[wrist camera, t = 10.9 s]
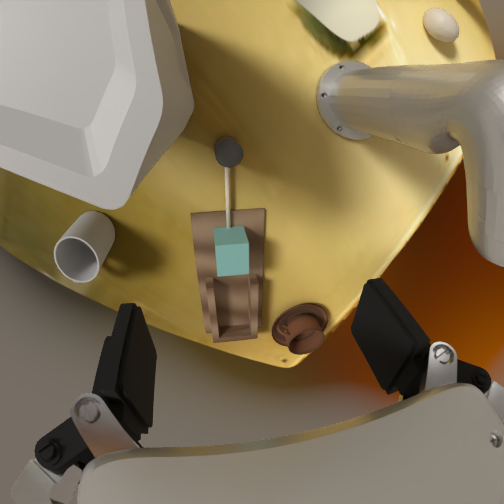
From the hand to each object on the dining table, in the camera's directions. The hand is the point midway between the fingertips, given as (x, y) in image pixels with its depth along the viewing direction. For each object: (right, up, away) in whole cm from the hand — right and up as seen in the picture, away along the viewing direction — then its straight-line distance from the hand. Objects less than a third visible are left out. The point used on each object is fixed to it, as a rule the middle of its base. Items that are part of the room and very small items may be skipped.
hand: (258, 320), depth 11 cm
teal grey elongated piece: (-4, +10, +28) cm, 30 cm away
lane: (-4, -2, +36) cm, 36 cm away
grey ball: (+32, +43, +16) cm, 56 cm away
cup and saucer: (+9, -11, +45) cm, 47 cm away
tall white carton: (-15, +27, +17) cm, 35 cm away
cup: (-26, +5, +28) cm, 38 cm away
